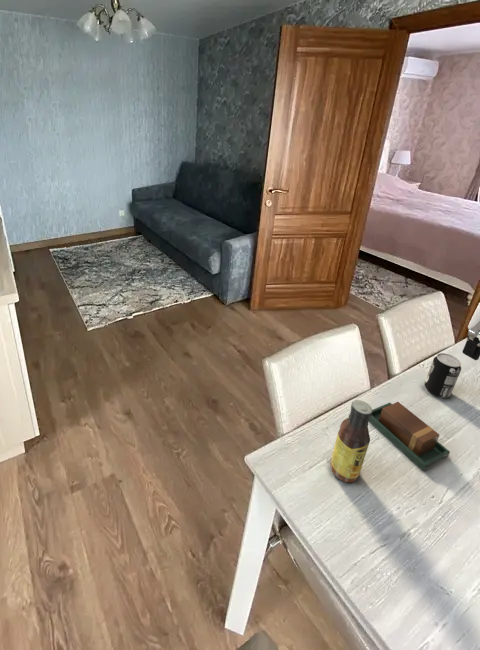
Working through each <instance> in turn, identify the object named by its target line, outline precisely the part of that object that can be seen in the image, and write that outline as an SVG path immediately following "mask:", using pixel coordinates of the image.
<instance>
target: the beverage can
mask: <svg viewBox="0 0 480 650" xmlns="http://www.w3.org/2000/svg"><path fill="white" fill-rule="evenodd" d="M461 371H462V362H461V360H460V359H458V358H457V357H456V356H454V355H452V354H449V353H445V352H439V353H437V355H436V356H435V357H434V358H433V360H432V362H431V365H430V368H429V371H428V373H427V375H426V378H425V381H424V388H425V389H426V390H427V392H428V393H430V395H432V396H434V397H436V398H440V399H447V398H450V397H451V395H452V393H453V391H454V389H455V386H456V384H457V381H458V378H459V376H460V374H461Z"/></svg>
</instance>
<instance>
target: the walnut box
mask: <svg viewBox="0 0 480 650" xmlns="http://www.w3.org/2000/svg"><path fill="white" fill-rule="evenodd" d="M379 422H380V423H381V424H382V425H384V426H385V427H386V428H387V429H388V430H389V431H390V432H391V433H392V434H393V435H395V436H396V437H397V438H398V439H399V440H400V441H401V442H402V443H403V444H405V445H406V446H407V447H408V448H409V449H410V450H411V451H412V452H413V453H415V454H416V455H417V456H418V457H419V456H421V455H423V454H425V453H427V452H429V451H431V450H432V449H434V447H435V445H436V442H437V441H438V440H439V437H440V433H439V432H437V431H436V430H435V429H434V428H432V427H431V426H430V425H428V424H427V423H426V422H425V421H424V420H422V419H421V418H419V417H418V416H417V415H416V414H415V413H413V412H412V411H411V410H410V409H408V408H407V407H406V406H404V405H403V404H402V403H400V402H399V401H396V402H393V403H391V405H389V406H387V407H384V408H383V409H382V412H381V415H380V418H379Z"/></svg>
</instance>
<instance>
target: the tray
mask: <svg viewBox="0 0 480 650" xmlns="http://www.w3.org/2000/svg"><path fill="white" fill-rule="evenodd" d="M391 404H392V402H387V403H385V404H383V405H380V406H378V407H375V408H372V416H371V417H370V418H369V422H368V423H370V424H372V426H373V427H374V428H376V430H378V431H379V432H380V433H381V434H382V435H383V436H384V437H386V438H387V439H388V440H389V442H391V443H392V444H393V445H394V446H395V447H396V448H397V449H399V451H401V452H402V453H403V455H405V456H406V457H407V458H408V459H409V460H410V461H411V462H412V463H413V464H415V466H416V467H418V468H419V469H420V470H421V471H422V472H423V471H425V470H427V469H429V468H431V467H432V466H435V465H436V464H438V463H440V462H441V461H443V460H445V459H447V458H448V457H449V456H450V453H451V451H450V450H448V449H447V448H446V447H445V446H444V445H443V444H442V443H440V442H439V441H438V440H437V442H436V445H435V447H434V449H432V450H431V451H429V452H427V453H425V454H423V455H421V456H419V457H418V456H417V455H416V454H415V453H413V452H412V451H411V450H410V449H409V448H408V447H407V446H406V445H405V444H403V443H402V442H401V441H400V440H399V439H398V438H397V437H396V436H395V435H393V434H392V433H391V432H390V431H389V430H388V429H387V428H386V427H385V426H384V425H382V424H381V423H380V422H379V418H380V415H381V412H382V409H383V408H384V407H387V406H389V405H391Z"/></svg>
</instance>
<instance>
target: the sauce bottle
mask: <svg viewBox="0 0 480 650" xmlns="http://www.w3.org/2000/svg"><path fill="white" fill-rule="evenodd" d="M350 405H351V406H350V413H349V415H348V417H347V418H345V419H344V420H342V421H341V423H340V425H339V430H338V432H337V435H336V438H335V441H334V442H335V444H334V447H333V450H332V453H331V458H330V468H331V472H332V473H333V475H334V476H335V477H336V478H337V479H339V480H340V481H342V482H345V483H353V482H355V481H356V480H357V479H358V478H359V476H360V474H361V470H362V468H363V464H364V461H365V458H366V455H367V452H368V448H369V445H370V442H371V438H370V437H371V436H370V431H369V423H370V422H369V418H370V417H371V416H372V410H373V408H372V406H371V405H370V404H369V403H368V402H366V401H364V400H361V399H354V400H353V401H352V402H351V404H350Z"/></svg>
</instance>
